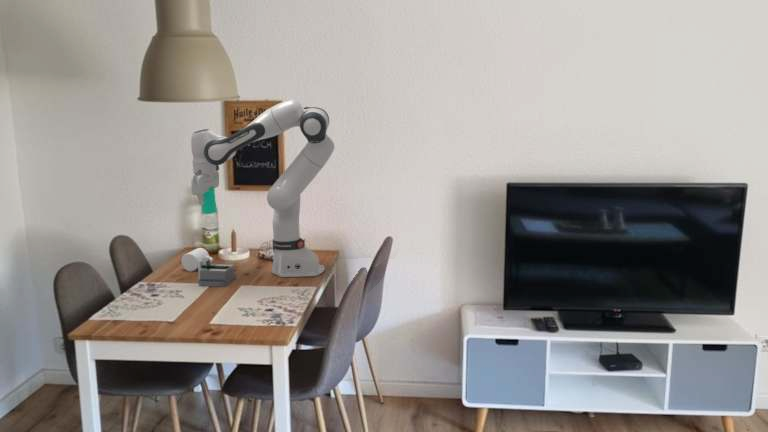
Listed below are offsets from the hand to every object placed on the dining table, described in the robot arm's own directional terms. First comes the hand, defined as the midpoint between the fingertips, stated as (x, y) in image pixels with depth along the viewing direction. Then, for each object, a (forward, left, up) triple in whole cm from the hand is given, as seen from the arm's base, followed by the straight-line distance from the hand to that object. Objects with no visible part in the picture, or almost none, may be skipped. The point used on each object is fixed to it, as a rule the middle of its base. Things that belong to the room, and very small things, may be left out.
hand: (206, 201), depth 312 cm
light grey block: (-5, +12, -29) cm, 32 cm away
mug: (+8, -6, -31) cm, 33 cm away
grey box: (-7, +12, -31) cm, 34 cm away
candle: (0, -2, -5) cm, 5 cm away
